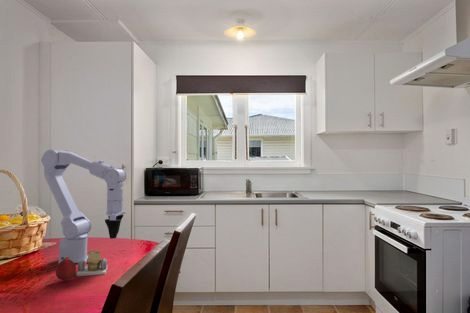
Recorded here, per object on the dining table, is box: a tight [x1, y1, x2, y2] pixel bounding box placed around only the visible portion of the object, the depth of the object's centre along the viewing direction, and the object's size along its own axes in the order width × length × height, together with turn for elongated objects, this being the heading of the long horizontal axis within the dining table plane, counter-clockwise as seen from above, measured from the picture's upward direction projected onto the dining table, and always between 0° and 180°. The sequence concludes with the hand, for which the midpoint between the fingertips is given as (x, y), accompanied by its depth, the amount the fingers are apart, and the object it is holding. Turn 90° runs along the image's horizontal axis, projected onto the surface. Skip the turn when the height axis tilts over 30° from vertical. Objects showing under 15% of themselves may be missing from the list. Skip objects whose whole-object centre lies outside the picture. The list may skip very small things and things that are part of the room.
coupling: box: [86, 250, 102, 271], centre depth 111 cm, size 5×5×6 cm
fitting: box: [76, 257, 108, 277], centre depth 111 cm, size 9×7×4 cm
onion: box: [55, 256, 77, 282], centre depth 102 cm, size 6×6×8 cm
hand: (114, 235), depth 121 cm, fingers open, 7 cm apart
